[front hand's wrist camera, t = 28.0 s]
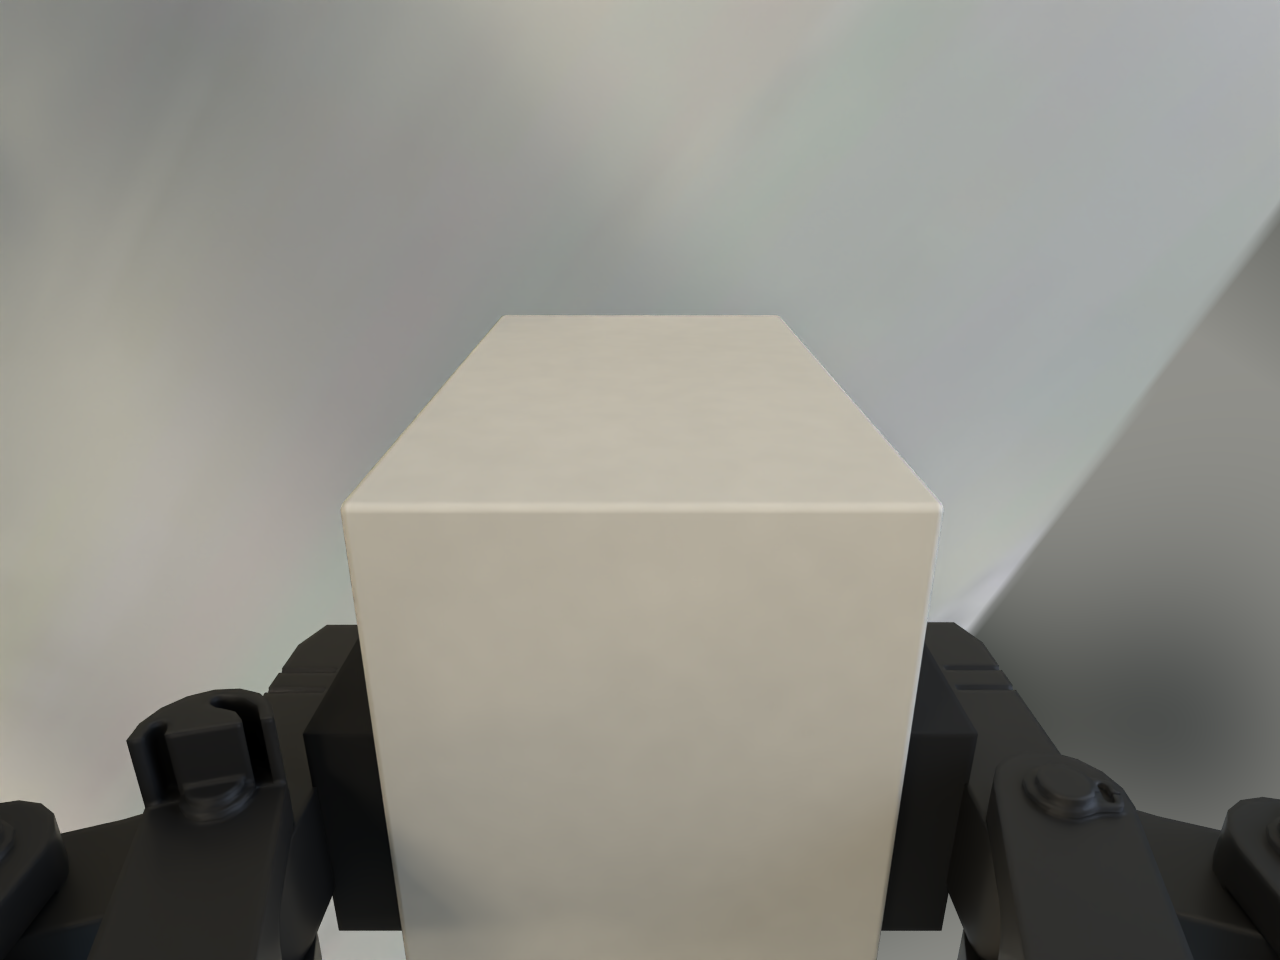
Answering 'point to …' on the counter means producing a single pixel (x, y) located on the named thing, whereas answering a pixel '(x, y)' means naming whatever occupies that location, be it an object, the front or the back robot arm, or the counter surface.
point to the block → (641, 646)
